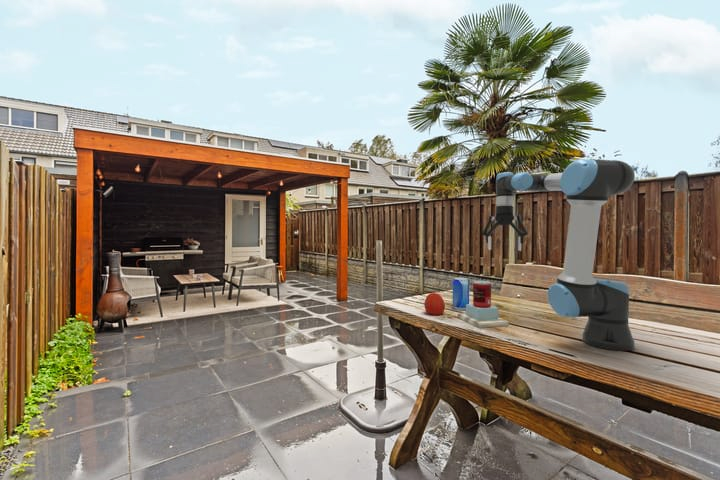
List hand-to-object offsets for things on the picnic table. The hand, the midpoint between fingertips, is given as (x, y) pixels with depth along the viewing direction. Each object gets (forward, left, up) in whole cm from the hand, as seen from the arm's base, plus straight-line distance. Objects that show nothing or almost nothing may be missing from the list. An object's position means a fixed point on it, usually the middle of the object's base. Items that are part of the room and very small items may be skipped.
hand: (504, 250), depth 161 cm
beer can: (+19, +12, -32) cm, 39 cm away
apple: (+13, +30, -32) cm, 46 cm away
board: (-6, +16, -32) cm, 36 cm away
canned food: (-6, +16, -25) cm, 30 cm away
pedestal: (-6, +16, -30) cm, 34 cm away
